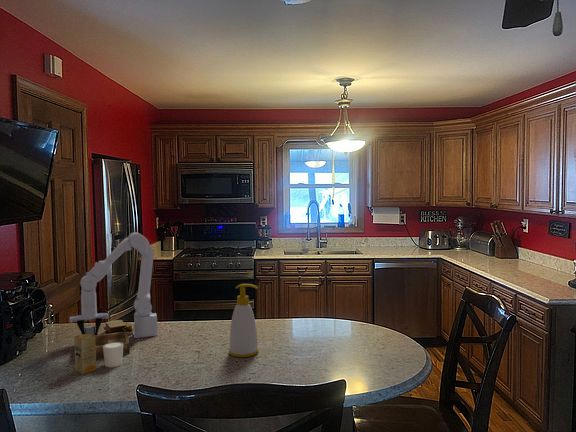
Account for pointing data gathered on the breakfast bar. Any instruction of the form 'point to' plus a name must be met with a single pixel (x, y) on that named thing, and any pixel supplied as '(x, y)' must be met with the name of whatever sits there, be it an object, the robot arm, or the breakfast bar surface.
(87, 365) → the shoe polish box
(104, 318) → the robot arm
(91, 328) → the peg
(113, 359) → the white cup
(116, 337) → the box with square hole
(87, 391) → the breakfast bar surface
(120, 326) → the toy sandwich meal
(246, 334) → the soap bottle
